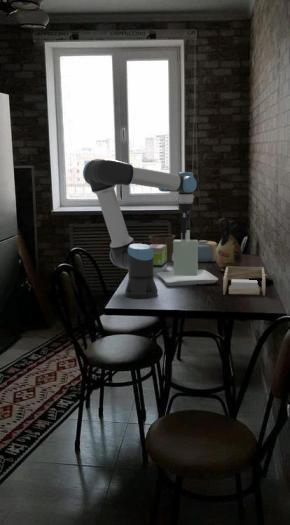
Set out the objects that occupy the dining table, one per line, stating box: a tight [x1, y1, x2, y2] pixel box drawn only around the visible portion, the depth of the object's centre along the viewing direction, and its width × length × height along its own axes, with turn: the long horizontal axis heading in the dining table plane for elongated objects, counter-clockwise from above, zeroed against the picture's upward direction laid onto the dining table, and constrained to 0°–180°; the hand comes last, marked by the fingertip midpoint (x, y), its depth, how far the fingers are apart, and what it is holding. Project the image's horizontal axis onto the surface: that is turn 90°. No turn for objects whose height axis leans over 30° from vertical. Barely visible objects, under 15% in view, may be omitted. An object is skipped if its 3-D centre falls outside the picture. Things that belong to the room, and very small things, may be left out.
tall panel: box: [172, 239, 199, 276], centre depth 273 cm, size 5×12×18 cm, turn 78°
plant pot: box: [148, 234, 176, 263], centre depth 333 cm, size 16×16×16 cm
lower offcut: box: [228, 285, 261, 295], centre depth 247 cm, size 7×14×3 cm, turn 80°
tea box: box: [148, 243, 168, 275], centre depth 301 cm, size 15×10×15 cm
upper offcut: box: [230, 279, 259, 289], centre depth 247 cm, size 7×12×3 cm, turn 79°
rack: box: [222, 266, 266, 296], centre depth 258 cm, size 32×19×7 cm, turn 169°
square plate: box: [156, 269, 219, 287], centre depth 275 cm, size 27×27×4 cm
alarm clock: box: [198, 239, 218, 263], centre depth 337 cm, size 19×20×12 cm
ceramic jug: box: [215, 217, 243, 272], centre depth 298 cm, size 17×15×30 cm
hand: (185, 244), depth 272 cm, fingers open, 13 cm apart
